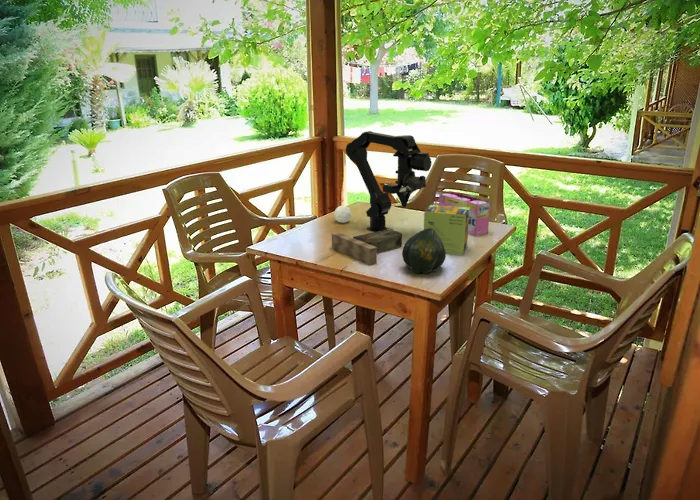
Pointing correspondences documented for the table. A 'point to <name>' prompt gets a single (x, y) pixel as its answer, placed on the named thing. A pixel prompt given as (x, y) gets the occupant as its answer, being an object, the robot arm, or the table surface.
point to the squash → (424, 251)
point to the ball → (342, 214)
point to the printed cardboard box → (382, 239)
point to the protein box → (449, 226)
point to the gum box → (470, 211)
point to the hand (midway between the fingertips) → (404, 206)
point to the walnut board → (354, 248)
